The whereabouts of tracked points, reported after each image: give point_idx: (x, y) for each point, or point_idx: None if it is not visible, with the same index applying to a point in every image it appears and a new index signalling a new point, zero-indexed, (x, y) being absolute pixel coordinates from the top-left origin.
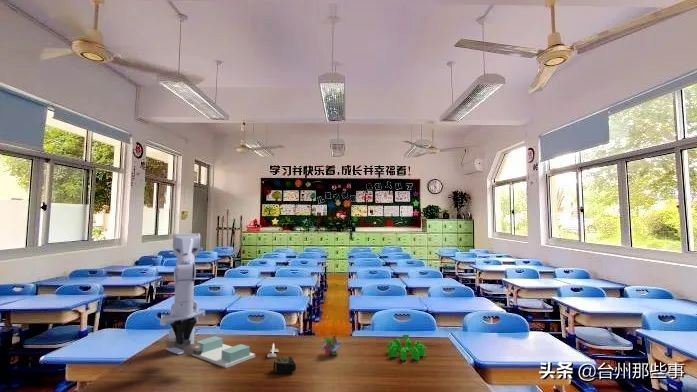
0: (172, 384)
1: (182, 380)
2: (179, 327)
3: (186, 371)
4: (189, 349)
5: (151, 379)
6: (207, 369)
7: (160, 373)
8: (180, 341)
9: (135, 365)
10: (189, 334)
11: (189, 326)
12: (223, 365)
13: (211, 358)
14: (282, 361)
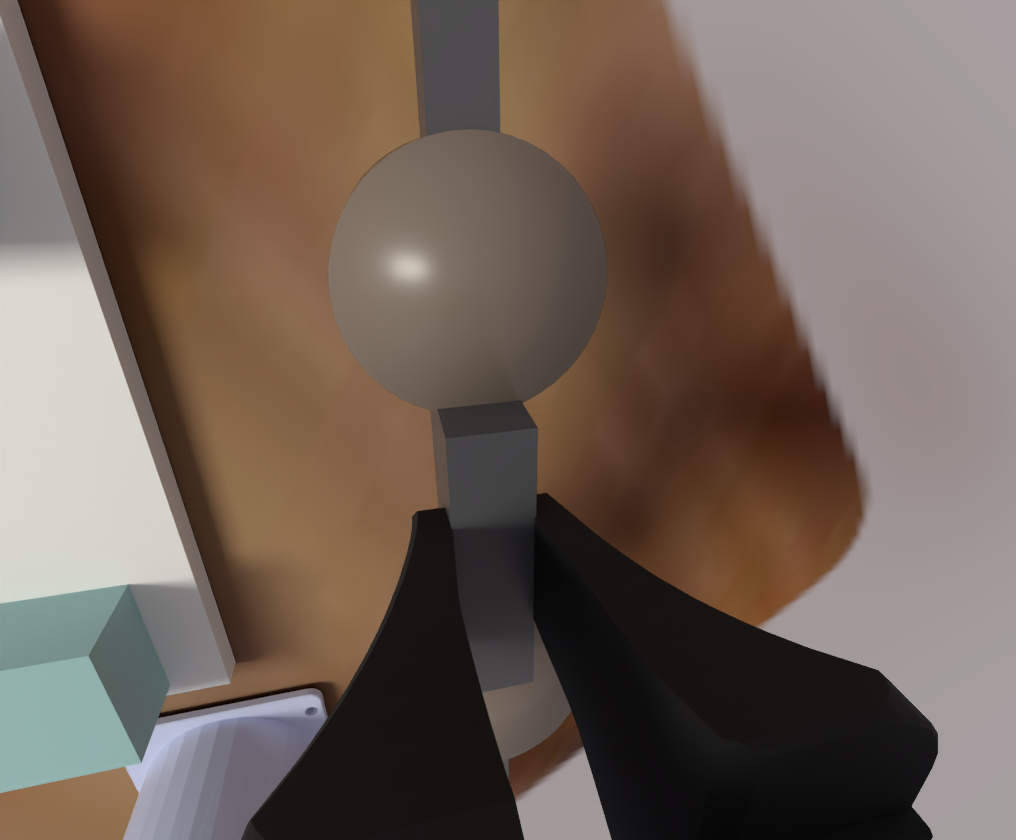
0: (667, 114)
1: (568, 121)
2: (823, 663)
3: None
4: (569, 181)
5: (686, 372)
6: (249, 174)
7: (589, 435)
8: (568, 513)
9: None
10: (428, 579)
11: (486, 710)
12: (26, 55)
13: (104, 373)
14: None
